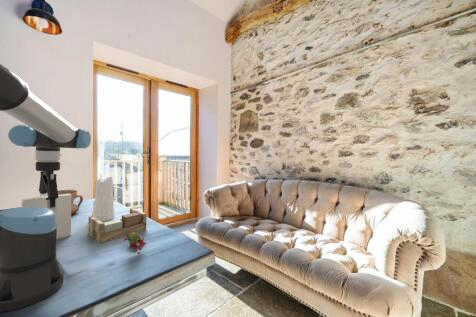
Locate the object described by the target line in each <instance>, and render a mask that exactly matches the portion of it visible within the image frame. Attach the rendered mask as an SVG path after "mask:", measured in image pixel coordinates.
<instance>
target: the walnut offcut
mask: <svg viewBox="0 0 476 317" xmlns="http://www.w3.org/2000/svg"><path fill="white" fill-rule="evenodd" d="M121 219H122V228H125V227H129V226H133V225H137V224H140V214H139V213H137V212H136V213H131V214H130V213H128V214H122V215H121Z"/></svg>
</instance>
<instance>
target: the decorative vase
mask: <svg viewBox="0 0 476 317" xmlns="http://www.w3.org/2000/svg"><path fill="white" fill-rule="evenodd" d="M113 182H114V181H113V177H112V176H108V177H106V178H103V179H101V178H98V180H96V182H95V198H94V201H93V203H92V205H93V206H92V212H91V216H93V217H95V218H97V219H98V220H100V221H102V222H107V221H110V220H114V218H115V216H116V213H115V212H116V211H115V207H114V205H115V204H114V199H115V198H114V195H113V194H114V185H113V184H114V183H113Z"/></svg>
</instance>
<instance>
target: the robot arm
mask: <svg viewBox="0 0 476 317" xmlns="http://www.w3.org/2000/svg"><path fill="white" fill-rule="evenodd" d="M0 112H3V113H6V114H7V115H8V116H10V117H12V118H14V119H16V120H18V121H19V122H21V123H23V125H22V124H20V125H19V124H17V125H14V126H13V127H11V128H10V129H9V131H8V135H7V136H8V139H9V141H10V142H11V143H12V144H13V145H15V146H19V147H22V148H23V147H24V148H28V147H29V148H31V147H32V148H35V151H34V153H35V155H34V156H35V158H34V159H35V160H36V162H35V171H37V172H40V173H39V174H40V178H39V184H38V185H39V186H38V192H39V197H46V196H48V198H46V200H47V208H42V207H24V208H22V206H21V207H13V208H8V209H4V210H2V211H0V313H2V312H3V311H5V312H11V311H16V310H19V308H20V309H23V308H25V307H29V306H31V305H34V304H36V303H38V302H41V301H43V300H45V299H46V298H48V297H50V296H51V295H53V294H54V293H56V292H57V291H58V290H59V289H61V287H62V286H63V284H64V281H65V280H64V271H63V269H62V266H61V265H60V263H59V261H58V259H57V239H56V238H57V220H56V214H57V198H58V183H57V173H54V172H55V171H56V172H57V171H60V170H61V162H60V161H61V156H62V154H63V153H61V148H62V149H78V150H79V149H87V148H88V147H89V146H90V145H91V142H92V139H91V138H92V136H91V133H90V132H89V130H88V129H83V128H76V127H74V126H73V125H72V124H71V123H70V122H69V121H67V120H66V119H64V118H63V117H62V116H61V115H59V114H58V112H56V111H54V110H53V109H52V108H51V107H50V106H49V105H47V104H46V103H45V102H43V101H42V100H41V99H40V98H39V97H38V96H36V95H34V94H33V93H32V92H31V91H30V88H29V85H28V84H27V82H25V81H24V80H23V79H22V78H21V77H19V76H18V75H16V74H15V73H14V72H13V71H11V70H10V69H9V68H7V67H6V66H4V65H3V64H1V63H0ZM15 309H16V310H15ZM3 313H4V312H3Z"/></svg>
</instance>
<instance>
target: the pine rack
mask: <svg viewBox="0 0 476 317" xmlns="http://www.w3.org/2000/svg"><path fill="white" fill-rule="evenodd" d="M136 212H137V213H139V214H140V224H137V225H133V226H129V227H125V228H121V229H118V230H114V231H110V232H106V233H105V222H104V221H100V220H98V219H97V218H95V217H93V216H92V215H91V216H88V225H87V226H88V227H87V228H88V230H87V231H88V232H87V234H88V235H89V236H90V237H91V238H93V239H94V240H95V241H97V242H98V243H99V244H103V243H106V242H110V241H113V240H116V239H119V238H123V237H127V236H126V234H130V233H132V232H137V233H139V232H143V231H146V230H147V213H146V212H144V211H141V210H138V209H136V208H133V207H131V208H129V214H131V213H136ZM119 220H121V221H122V218H120V219H119Z"/></svg>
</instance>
